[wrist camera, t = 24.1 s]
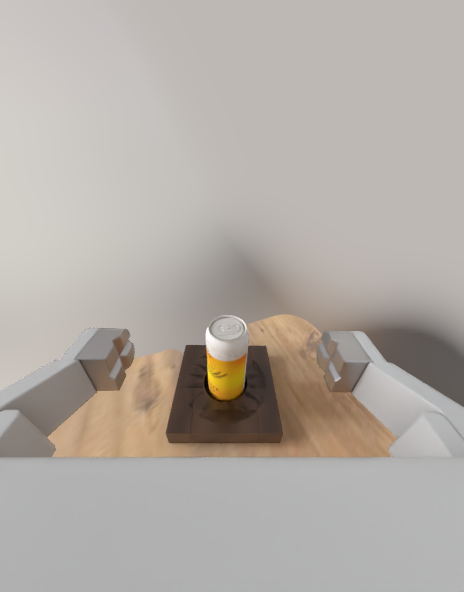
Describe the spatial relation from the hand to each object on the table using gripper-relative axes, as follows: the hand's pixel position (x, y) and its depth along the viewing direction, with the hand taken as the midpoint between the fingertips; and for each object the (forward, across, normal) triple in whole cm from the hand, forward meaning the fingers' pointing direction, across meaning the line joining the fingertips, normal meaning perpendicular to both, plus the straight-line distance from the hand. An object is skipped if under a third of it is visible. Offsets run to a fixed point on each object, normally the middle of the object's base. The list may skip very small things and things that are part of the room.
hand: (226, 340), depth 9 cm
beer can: (+15, 0, +28) cm, 32 cm away
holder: (+15, 0, +28) cm, 32 cm away
